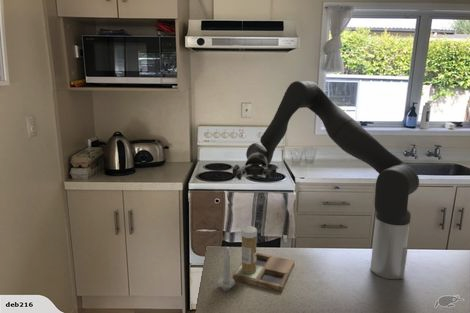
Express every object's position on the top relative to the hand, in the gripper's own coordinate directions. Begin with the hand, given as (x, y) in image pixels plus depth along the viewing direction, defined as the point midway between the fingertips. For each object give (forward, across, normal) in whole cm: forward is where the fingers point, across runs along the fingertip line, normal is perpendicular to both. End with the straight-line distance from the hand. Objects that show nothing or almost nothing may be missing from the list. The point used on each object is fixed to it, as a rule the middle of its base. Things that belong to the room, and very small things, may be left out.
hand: (253, 177), depth 105 cm
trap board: (+7, +4, +28) cm, 29 cm away
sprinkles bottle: (+10, -1, +26) cm, 28 cm away
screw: (+17, -6, +28) cm, 33 cm away
